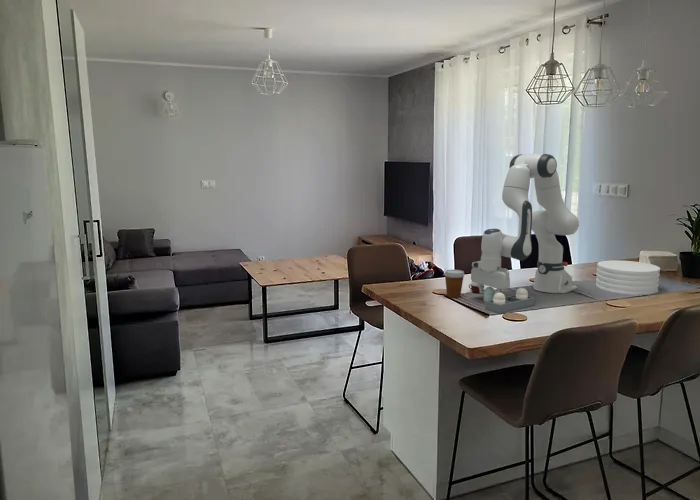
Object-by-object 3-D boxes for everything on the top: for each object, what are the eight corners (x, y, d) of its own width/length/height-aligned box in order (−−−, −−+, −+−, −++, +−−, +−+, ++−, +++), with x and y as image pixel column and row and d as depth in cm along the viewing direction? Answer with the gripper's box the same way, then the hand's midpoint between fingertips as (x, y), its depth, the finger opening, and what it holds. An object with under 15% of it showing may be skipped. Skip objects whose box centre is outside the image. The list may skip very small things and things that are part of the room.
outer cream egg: (498, 307, 233) (499, 290, 232) (507, 310, 229) (508, 293, 228) (490, 309, 231) (491, 292, 229) (499, 312, 226) (500, 294, 225)
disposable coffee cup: (448, 299, 250) (449, 274, 248) (440, 294, 260) (440, 270, 257) (467, 297, 253) (468, 272, 251) (458, 293, 262) (459, 268, 260)
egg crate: (519, 303, 243) (520, 293, 242) (534, 307, 237) (534, 297, 236) (485, 311, 231) (485, 301, 230) (499, 315, 225) (500, 305, 224)
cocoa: (466, 291, 266) (466, 268, 264) (476, 289, 269) (475, 266, 267) (480, 295, 258) (479, 270, 256) (490, 293, 261) (489, 268, 259)
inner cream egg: (520, 302, 241) (521, 286, 240) (529, 305, 237) (530, 288, 236) (512, 304, 238) (513, 287, 237) (522, 306, 234) (523, 289, 233)
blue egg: (488, 301, 247) (489, 285, 246) (497, 303, 243) (497, 287, 242) (481, 302, 245) (481, 286, 243) (489, 305, 240) (490, 288, 239)
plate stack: (643, 282, 284) (645, 260, 282) (668, 295, 257) (671, 272, 255) (588, 281, 287) (589, 259, 285) (607, 294, 260) (609, 271, 258)
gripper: (514, 268, 234) (512, 299, 236) (478, 261, 251) (477, 289, 253) (504, 270, 231) (502, 301, 233) (469, 262, 247) (468, 291, 250)
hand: (489, 295), depth 243 cm, fingers open, 8 cm apart
